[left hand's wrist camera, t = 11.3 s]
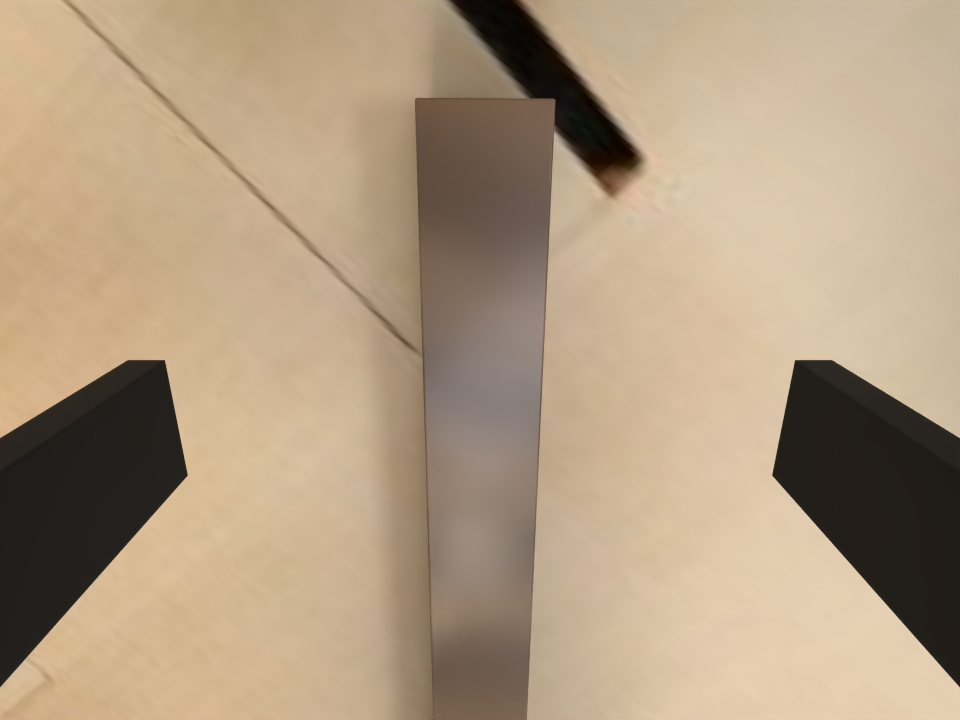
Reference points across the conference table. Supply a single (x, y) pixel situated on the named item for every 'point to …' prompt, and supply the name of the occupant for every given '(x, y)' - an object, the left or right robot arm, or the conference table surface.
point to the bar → (482, 388)
